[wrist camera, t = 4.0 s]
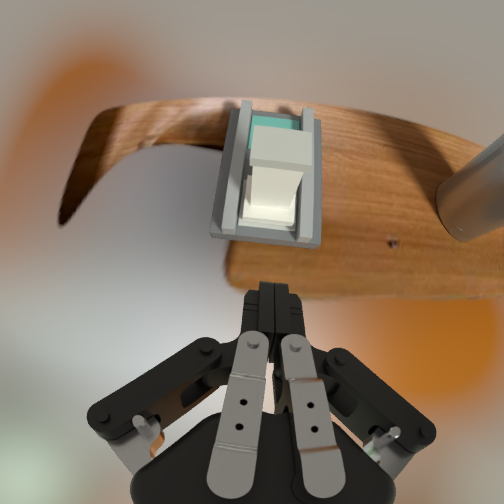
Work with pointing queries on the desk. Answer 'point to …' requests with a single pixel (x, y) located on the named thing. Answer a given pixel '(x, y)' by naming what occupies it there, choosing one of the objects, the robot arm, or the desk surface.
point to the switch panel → (238, 168)
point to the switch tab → (276, 174)
